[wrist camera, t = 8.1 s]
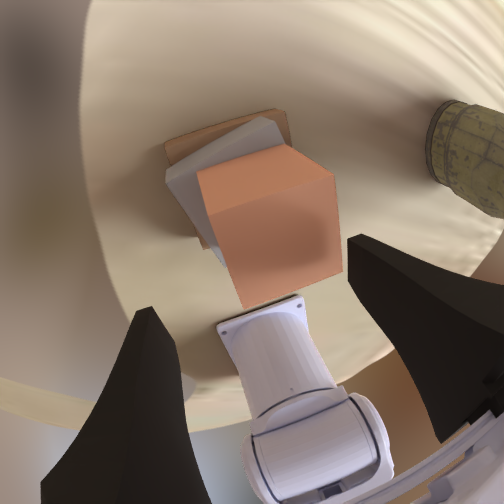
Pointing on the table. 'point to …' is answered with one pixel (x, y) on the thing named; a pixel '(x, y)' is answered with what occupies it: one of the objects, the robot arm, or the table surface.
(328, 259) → the terracotta block
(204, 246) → the tower base
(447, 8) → the table surface
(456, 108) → the stone statue
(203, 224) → the tower middle
